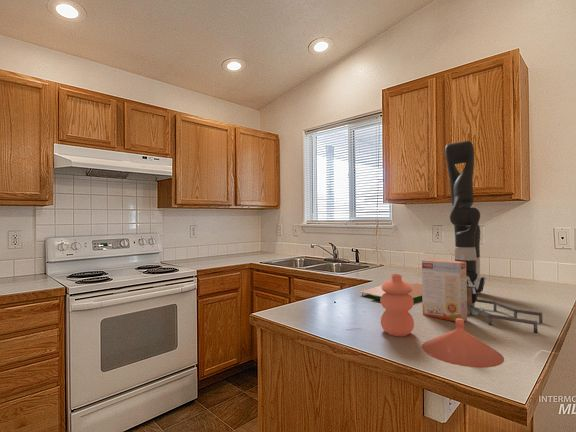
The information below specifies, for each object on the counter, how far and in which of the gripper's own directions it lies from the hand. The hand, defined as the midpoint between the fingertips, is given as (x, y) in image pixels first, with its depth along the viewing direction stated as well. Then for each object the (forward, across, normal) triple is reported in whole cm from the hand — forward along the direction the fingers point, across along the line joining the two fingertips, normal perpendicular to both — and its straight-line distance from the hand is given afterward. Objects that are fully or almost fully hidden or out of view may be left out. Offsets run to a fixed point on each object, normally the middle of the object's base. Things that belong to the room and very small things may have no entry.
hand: (465, 301), depth 136 cm
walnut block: (+2, 0, 0) cm, 2 cm away
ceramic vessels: (+4, +4, -46) cm, 46 cm away
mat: (+3, 0, 0) cm, 3 cm away
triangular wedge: (+4, -30, +4) cm, 30 cm away
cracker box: (+4, -3, -16) cm, 17 cm away
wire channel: (+3, +9, -4) cm, 10 cm away
